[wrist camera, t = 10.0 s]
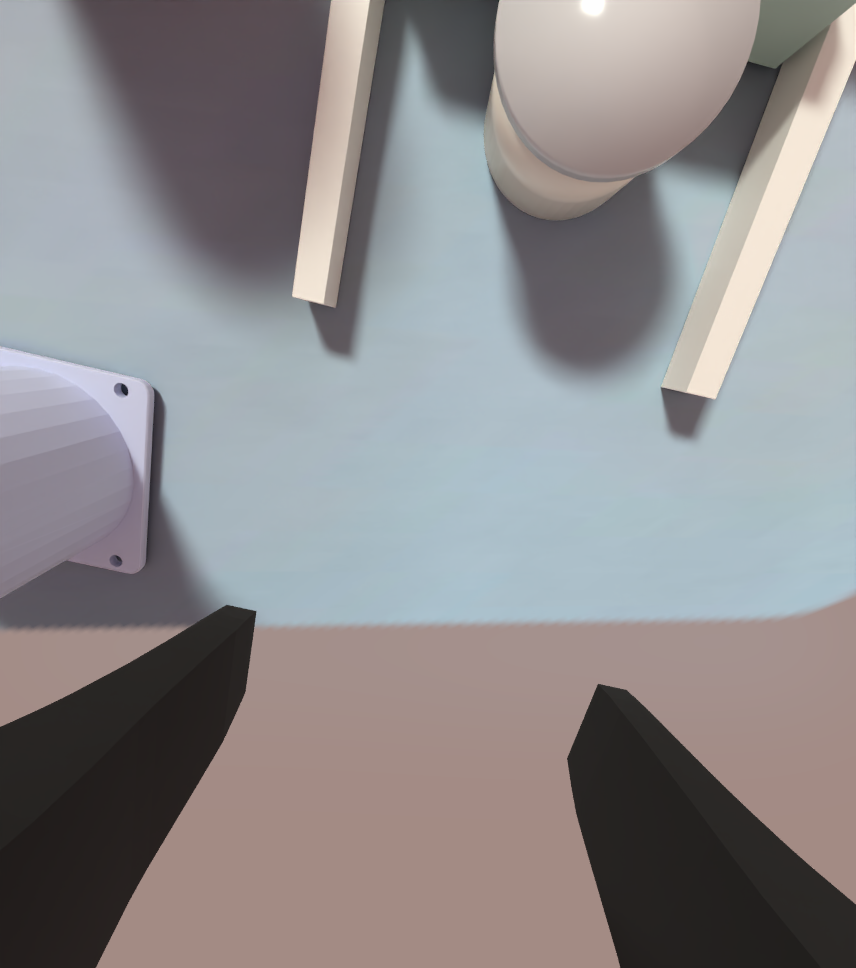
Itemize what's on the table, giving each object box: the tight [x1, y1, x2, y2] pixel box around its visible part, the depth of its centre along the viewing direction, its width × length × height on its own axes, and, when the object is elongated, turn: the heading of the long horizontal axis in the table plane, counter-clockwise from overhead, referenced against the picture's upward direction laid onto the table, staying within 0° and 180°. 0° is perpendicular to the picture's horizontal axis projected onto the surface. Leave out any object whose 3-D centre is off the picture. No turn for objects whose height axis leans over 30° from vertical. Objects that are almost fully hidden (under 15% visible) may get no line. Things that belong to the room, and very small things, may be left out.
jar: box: [484, 0, 761, 221], centre depth 12 cm, size 5×5×5 cm
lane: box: [292, 0, 856, 399], centre depth 13 cm, size 14×14×4 cm
